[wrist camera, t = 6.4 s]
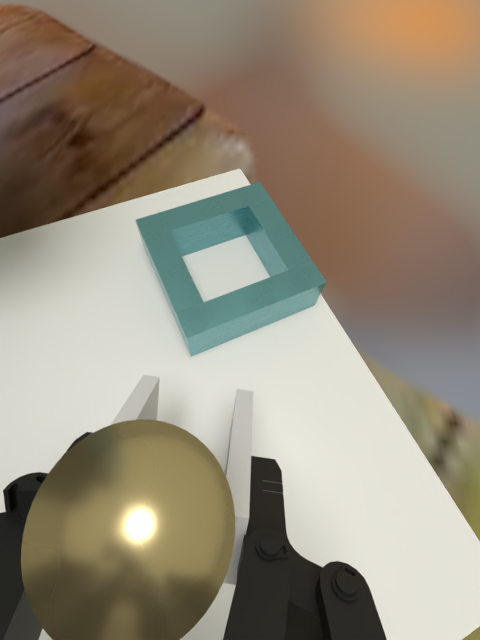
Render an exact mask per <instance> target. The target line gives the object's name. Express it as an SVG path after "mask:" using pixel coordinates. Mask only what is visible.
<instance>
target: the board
mask: <svg viewBox="0 0 480 640" xmlns="http://www.w3.org/2000/svg"><path fill="white" fill-rule="evenodd" d="M248 185H250V183H249V182H248V180H247V178H246V177H245V175H244V174H243V172H242V171H241V169H237V170H233V171H230V172H226V173H223V174H219V175H216V176H213V177H209V178H206V179H202V180H199V181H195V182H192V183H188V184H185V185H182V186H178V187H175V188H171V189H168V190H164V191H161V192H157V193H154V194H151V195H147V196H144V197H140V198H137V199H133V200H130V201H126V202H123V203H120V204H116V205H113V206H109V207H106V208H102V209H99V210H95V211H92V212H89V213H85V214H82V215H78V216H75V217H71V218H68V219H64V220H61V221H57V222H54V223H51V224H47V225H44V226H40V227H37V228H33V229H30V230H26V231H23V232H20V233H16V234H13V235H9V236H6V237H2V238H0V513H2V512H6V510H5V502H4V494H3V490H4V489H5V488H6V487H7V486H8V484H9V483H11V482H12V481H14V480H15V479H17V478H18V477H21V476H23V475H26V474H29V473H36V472H42V473H49V472H50V471H51V469H52V468H53V467H54V466H55V464H56V463H57V462H58V461H59V460H60V459H61V457H62V456H63V455H64V453H66V452H67V449H68V448H69V447H70V446H71V444H72V443H73V442H74V440H76V439H77V438H79V437H80V436H82V435H83V434H85V433H86V432H91V433H94V432H96V431H98V430H100V429H102V428H104V427H107V426H109V425H111V423H112V422H113V420H114V419H115V417H116V415H117V414H118V412H119V411H120V409H121V408H122V406H123V405H124V403H125V402H126V400H127V399H128V397H129V396H130V394H131V393H132V391H133V390H134V388H135V387H136V385H137V384H138V382H139V381H140V379H141V378H142V376H143V375H148V376H155V377H160V382H159V397H158V412H157V421H163V422H166V423H170V424H173V425H176V426H178V427H180V428H182V429H184V430H186V431H188V432H189V433H191V434H192V435H194V436H195V437H197V438H198V439H199V440H200V441H201V442H202V443H203V444H205V445H206V447H207V448H208V449H209V450H210V451H211V452H212V454H213V455H214V456H215V458H216V459H217V461H218V462H219V464H220V465H221V467H222V469H223V472H224V474H225V467H226V460H227V452H228V444H229V436H230V430H231V424H232V417H233V411H234V404H235V398H236V391H237V389H241V390H248V391H253V418H252V448H251V456H256V457H263V458H270V459H275V460H276V462H277V463H278V465H279V467H280V469H281V471H282V485H283V496H284V509H285V521H286V532H287V537H288V539H289V542H290V544H291V545H292V547H293V548H294V549H295V551H297V552H298V553H299V554H300V555H301V556H302V557H304V558H306V559H307V560H309V561H311V562H313V563H315V564H317V565H319V566H321V567H324V566H325V565H326V564H328V563H329V562H334V561H340V562H343V563H347V564H349V565H350V566H352V567H353V568H355V569H357V570H358V572H359V573H360V574H361V575H362V576H363V577H364V578H365V580H366V582H367V584H368V586H369V588H370V591H371V594H372V597H373V600H374V603H375V606H376V609H377V612H378V615H379V617H380V620H381V623H382V626H383V629H384V632H385V635H386V638H387V640H462V639H463V638H465V637H466V636H467V635H468V634H470V633H471V632H472V631H474V630H475V629H476V628H478V627H479V626H480V542H479V540H478V538H477V537H476V535H475V534H474V532H473V531H472V529H471V527H470V526H469V524H468V523H467V521H466V520H465V518H464V517H463V515H462V513H461V512H460V510H459V509H458V507H457V506H456V504H455V503H454V501H453V499H452V498H451V496H450V495H449V493H448V492H447V490H446V489H445V487H444V485H443V484H442V482H441V481H440V479H439V478H438V476H437V475H436V473H435V471H434V470H433V468H432V467H431V465H430V464H429V462H428V460H427V459H426V457H425V456H424V454H423V453H422V451H421V450H420V448H419V446H418V445H417V443H416V442H415V440H414V439H413V437H412V436H411V434H410V432H409V431H408V429H407V428H406V426H405V425H404V423H403V422H402V420H401V418H400V417H399V415H398V414H397V412H396V411H395V409H394V408H393V406H392V404H391V403H390V401H389V400H388V398H387V397H386V395H385V393H384V392H383V390H382V389H381V387H380V386H379V384H378V383H377V381H376V379H375V378H374V376H373V375H372V373H371V372H370V370H369V369H368V367H367V365H366V364H365V362H364V361H363V359H362V358H361V356H360V355H359V353H358V351H357V350H356V348H355V347H354V345H353V344H352V342H351V341H350V339H349V337H348V336H347V334H346V333H345V331H344V330H343V328H342V326H341V325H340V323H339V322H338V320H337V319H336V317H335V316H334V314H333V312H332V311H331V309H330V308H329V306H328V305H327V303H326V302H325V300H324V299H323V297H322V295H321V294H320V296H319V298H318V300H317V301H316V303H315V305H314V306H313V307H310V308H308V309H305V310H303V311H300V312H298V313H296V314H293V315H291V316H288V317H286V318H284V319H281V320H279V321H276V322H274V323H271V324H269V325H267V326H264V327H262V328H259V329H257V330H255V331H252V332H250V333H247V334H245V335H242V336H240V337H238V338H235V339H233V340H230V341H228V342H226V343H223V344H221V345H218V346H216V347H213V348H211V349H209V350H206V351H204V352H201V353H199V354H197V355H194V356H192V357H191V356H190V354H189V351H188V349H187V347H186V344H185V342H184V340H183V337H182V335H181V333H180V330H179V328H178V326H177V323H176V321H175V319H174V316H173V314H172V312H171V309H170V307H169V305H168V302H167V300H166V298H165V296H164V293H163V291H162V289H161V286H160V284H159V282H158V279H157V277H156V275H155V272H154V270H153V268H152V265H151V263H150V261H149V258H148V256H147V254H146V251H145V249H144V246H143V243H142V240H141V237H140V233H139V230H138V227H137V224H136V221H135V220H136V219H139V218H143V217H146V216H149V215H153V214H156V213H159V212H162V211H166V210H169V209H172V208H176V207H179V206H182V205H185V204H189V203H192V202H195V201H199V200H202V199H205V198H208V197H212V196H215V195H218V194H222V193H225V192H228V191H231V190H235V189H238V188H241V187H245V186H248ZM182 258H183V260H184V262H185V264H186V266H187V268H188V271H189V273H190V275H191V277H192V279H193V281H194V283H195V285H196V287H197V289H198V291H199V294H200V296H201V298H202V300H203V302H206V301H209V300H211V299H214V298H216V297H219V296H222V295H224V294H227V293H230V292H232V291H235V290H238V289H240V288H243V287H245V286H248V285H251V284H253V283H256V282H259V281H261V280H264V279H267V278H269V277H270V276H269V274H268V272H267V270H266V269H265V267H264V265H263V264H262V262H261V260H260V259H259V257H258V255H257V253H256V252H255V250H254V248H253V247H252V245H251V243H250V242H249V240H248V238H247V236H246V235H244V236H241V237H238V238H235V239H232V240H230V241H227V242H224V243H221V244H218V245H215V246H212V247H209V248H206V249H203V250H200V251H197V252H194V253H191V254H188V255H185V256H183V257H182ZM235 586H236V585H233V584H227V583H223V584H222V586H221V588H220V590H219V592H218V594H217V596H216V598H215V600H214V601H213V603H212V604H211V606H210V607H209V609H208V610H207V612H206V613H205V615H204V616H203V617H202V618H201V619H200V620H199V622H198V623H197V624H196V625H195V626H194V627H193V628H192V629H191V630H190V631H189V632H188V633H187V634H186V635H185V636H184V637H183V638H181V639H180V640H223V637H224V633H225V629H226V624H227V620H228V616H229V612H230V607H231V603H232V599H233V595H234V591H235ZM39 640H52V639H51V638H50V636H49V635H48V634H47V633H46V632H45V630H44V629H43V628H42V631H41V634H40V637H39Z"/></svg>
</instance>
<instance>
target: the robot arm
mask: <svg viewBox="0 0 480 640" xmlns="http://www.w3.org/2000/svg"><path fill="white" fill-rule="evenodd" d="M159 382H160V377H155V376H148V375H143V376H142V378H141V379H140V381H139V382H138V384H137V385H136V387H135V388H134V390H133V391H132V393H131V394H130V396H129V397H128V399H127V400H126V402H125V403H124V405H123V406H122V408H121V409H120V411H119V412H118V414H117V415H116V417H115V419H114V420H113V422H112V423H111V425H112V424H115V423H119V422H123V421H128V420H138V419H146V420H157V412H158V397H159ZM252 418H253V391H248V390H241V389H237V391H236V398H235V404H234V411H233V417H232V424H231V430H230V436H229V444H228V452H227V460H226V467H225V476H226V478H227V481H228V484H229V487H230V489H231V493H232V498H233V503H234V511H235V539H234V546H233V553H232V557H231V561H230V565H229V568H228V571H227V574H226V576H225V579H224V582H223V583H227V584H233V585H236V586H235V591H234V595H233V599H232V603H231V607H230V612H229V616H228V620H227V624H226V629H225V633H224V637H223V640H387V638H386V635H385V632H384V629H383V626H382V623H381V620H380V617H379V615H378V612H377V609H376V606H375V603H374V600H373V597H372V594H371V591H370V588H369V586H368V584H367V582H366V580H365V578H364V577H363V576H362V575H361V574H360V573H359V572H358V570H357V569H355V568H353V567H352V566H350V565H349V564H347V563H343V562H340V561H334V562H329V563H328V564H326V565H325V566H324V567H321V566H319V565H317V564H315V563H313V562H311V561H309V560H307V559H306V558H304V557H302V556H301V555H300V554H299V553H298V552H297V551H295V549H294V548H293V547H292V545H291V544H290V542H289V539H288V537H287V532H286V521H285V509H284V496H283V485H282V471H281V469H280V467H279V465H278V463H277V462H276V460H275V459H270V458H263V457H256V456H251V448H252ZM90 434H92V433H91V432H86V433H85V434H83V435H82V436H80V437H79V438H77V439H76V440H74V442H73V443H72V444H71V446H70V447H69V448H68V449H67V451H69V450H70V449H71V448H72V447H73V446H75V445H76V444H77V443H78V442H79V441H81V440H82V439H84V438H86V437H87V436H89V435H90ZM65 454H66V453H64V455H65ZM64 455H63V456H64ZM63 456H62V457H63ZM62 457H61V458H62ZM47 475H48V473H42V472H36V473H29V474H26V475H23V476H21V477H18V478H17V479H15V480H14V481H12V482H11V483H9V484H8V486H7V487H6V488H5V489H4V490H3V494H4V502H5V510H6V512H2V513H0V640H39V637H40V634H41V631H42V627H41V625H40V624H39V622H38V620H37V619H36V617H35V615H34V614H33V612H32V609H31V607H30V604H29V602H28V599H27V596H26V592H25V588H24V584H23V578H22V569H21V547H22V539H23V532H24V528H25V524H26V520H27V516H28V513H29V511H30V508H31V505H32V502H33V500H34V498H35V496H36V494H37V492H38V490H39V488H40V486H41V484H42V483H43V481H44V480H45V478H46V476H47Z"/></svg>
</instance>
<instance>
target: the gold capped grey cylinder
mask: <svg viewBox="0 0 480 640" xmlns="http://www.w3.org/2000/svg"><path fill="white" fill-rule="evenodd" d="M234 539H235V511H234V503H233V498H232V493H231V489H230V487H229V484H228V481H227V478H226V476H225V474H224V472H223V469H222V467H221V465H220V464H219V462H218V461H217V459H216V458H215V456H214V455H213V454H212V452H211V451H210V450H209V449H208V448H207V447H206V445H205V444H203V443H202V442H201V441H200V440H199V439H198V438H197V437H195V436H194V435H192V434H191V433H189V432H188V431H186V430H184V429H182V428H180V427H178V426H176V425H173V424H170V423H166V422H163V421H157V420H146V419H138V420H128V421H123V422H119V423H115V424H112V425H109V426H107V427H104V428H102V429H100V430H98V431H96V432H94V433H92V434H90V435H89V436H87V437H86V438H84V439H82V440H81V441H79V442H78V443H77V444H76V445H75V446H73V447H72V448H71V449H70V450H69V451H67V452H66V454H65V455H64V456H63V457H62V458H61V459H60V460H59V461H58V462H57V463H56V464H55V466H54V467H53V468H52V469H51V471H50V472H49V473H48V475H47V476H46V478H45V480H44V481H43V483H42V484H41V486H40V488H39V490H38V492H37V494H36V496H35V498H34V500H33V502H32V505H31V508H30V511H29V513H28V516H27V520H26V524H25V528H24V532H23V539H22V547H21V569H22V578H23V584H24V588H25V592H26V596H27V599H28V602H29V604H30V607H31V609H32V612H33V614H34V615H35V617H36V619H37V620H38V622H39V624H40V625H41V627H42V628H43V629H44V630H45V632H46V633H47V634H48V635H49V636H50V638H51V639H52V640H180V639H181V638H183V637H184V636H185V635H186V634H187V633H188V632H189V631H190V630H191V629H192V628H193V627H194V626H195V625H196V624H197V623H198V622H199V620H200V619H201V618H202V617H203V616H204V615H205V613H206V612H207V610H208V609H209V607H210V606H211V604H212V603H213V601H214V600H215V598H216V596H217V594H218V592H219V590H220V588H221V586H222V584H223V582H224V579H225V576H226V574H227V571H228V568H229V565H230V561H231V557H232V553H233V546H234Z"/></svg>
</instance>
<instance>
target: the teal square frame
mask: <svg viewBox="0 0 480 640" xmlns="http://www.w3.org/2000/svg"><path fill="white" fill-rule="evenodd" d="M135 221H136V224H137V227H138V230H139V233H140V237H141V240H142V243H143V246H144V249H145V251H146V254H147V256H148V258H149V261H150V263H151V265H152V268H153V270H154V272H155V275H156V277H157V279H158V282H159V284H160V286H161V289H162V291H163V293H164V296H165V298H166V300H167V302H168V305H169V307H170V309H171V312H172V314H173V316H174V319H175V321H176V323H177V326H178V328H179V330H180V333H181V335H182V337H183V340H184V342H185V344H186V347H187V349H188V351H189V354H190V356H191V357H192V356H194V355H197V354H199V353H201V352H204V351H206V350H209V349H211V348H213V347H216V346H218V345H221V344H223V343H226V342H228V341H230V340H233V339H235V338H238V337H240V336H242V335H245V334H247V333H250V332H252V331H255V330H257V329H259V328H262V327H264V326H267V325H269V324H271V323H274V322H276V321H279V320H281V319H284V318H286V317H288V316H291V315H293V314H296V313H298V312H300V311H303V310H305V309H308V308H310V307H313V306H314V305H315V303H316V301H317V300H318V298H319V296H320V294H321V292H322V290H323V288H324V286H325V284H326V281H325V280H324V278H323V277H322V275H321V274H320V272H319V270H318V269H317V268H316V266H315V264H314V263H313V261H312V260H311V258H310V257H309V255H308V254H307V252H306V251H305V249H304V248H303V246H302V245H301V243H300V242H299V240H298V239H297V237H296V236H295V234H294V233H293V231H292V230H291V228H290V227H289V225H288V224H287V222H286V220H285V219H284V217H283V216H282V214H281V213H280V211H279V210H278V209H277V207H276V205H275V204H274V202H273V201H272V199H271V198H270V196H269V195H268V193H267V192H266V190H265V189H264V187H263V186H262V184H261V183H260V182H258V183H254V184H251V185H248V186H245V187H241V188H238V189H235V190H231V191H228V192H225V193H222V194H218V195H215V196H212V197H208V198H205V199H202V200H199V201H195V202H192V203H189V204H185V205H182V206H179V207H176V208H172V209H169V210H166V211H162V212H159V213H156V214H153V215H149V216H146V217H143V218H139V219H136V220H135ZM244 235H246V236H247V238H248V240H249V242H250V243H251V245H252V247H253V248H254V250H255V252H256V253H257V255H258V257H259V259H260V260H261V262H262V264H263V265H264V267H265V269H266V270H267V272H268V274H269V276H270V277H269V278H267V279H264V280H261V281H259V282H256V283H253V284H251V285H248V286H245V287H243V288H240V289H238V290H235V291H232V292H230V293H227V294H224V295H222V296H219V297H216V298H214V299H211V300H209V301H206V302H203V300H202V298H201V296H200V294H199V291H198V289H197V287H196V285H195V283H194V281H193V279H192V277H191V275H190V273H189V271H188V268H187V266H186V264H185V262H184V260H183V258H182V257H183V256H185V255H188V254H191V253H194V252H197V251H200V250H203V249H206V248H209V247H212V246H215V245H218V244H221V243H224V242H227V241H230V240H232V239H235V238H238V237H241V236H244Z"/></svg>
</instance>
